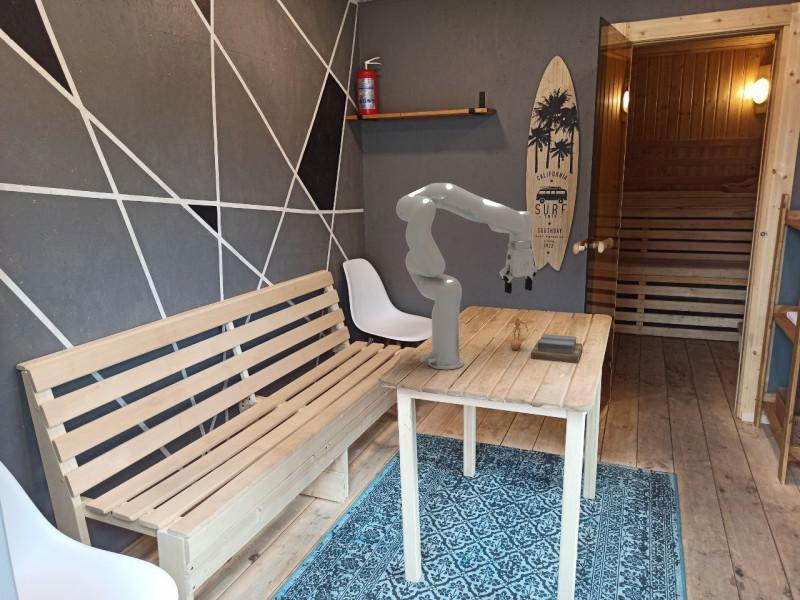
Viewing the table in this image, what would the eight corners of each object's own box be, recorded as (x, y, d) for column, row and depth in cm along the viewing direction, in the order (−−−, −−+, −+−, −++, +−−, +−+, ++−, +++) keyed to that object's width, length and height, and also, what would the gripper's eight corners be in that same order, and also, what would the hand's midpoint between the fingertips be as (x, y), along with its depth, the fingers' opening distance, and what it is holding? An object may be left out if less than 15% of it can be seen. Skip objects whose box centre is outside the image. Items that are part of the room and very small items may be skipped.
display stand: (577, 363, 195) (578, 348, 194) (530, 358, 202) (531, 343, 200) (581, 350, 210) (582, 335, 209) (538, 346, 216) (538, 332, 215)
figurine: (503, 350, 212) (504, 319, 209) (507, 345, 217) (507, 315, 215) (526, 352, 209) (526, 321, 206) (528, 347, 214) (529, 317, 212)
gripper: (507, 248, 198) (506, 295, 201) (544, 244, 206) (543, 290, 209) (494, 246, 204) (493, 292, 208) (530, 242, 212) (529, 287, 216)
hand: (518, 291), depth 208 cm, fingers open, 9 cm apart
